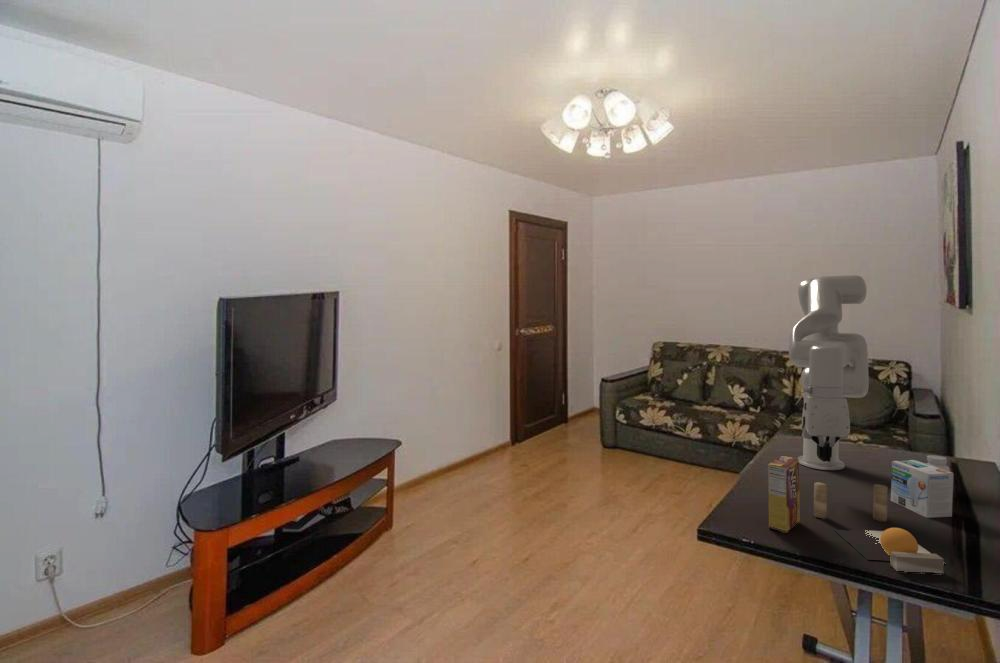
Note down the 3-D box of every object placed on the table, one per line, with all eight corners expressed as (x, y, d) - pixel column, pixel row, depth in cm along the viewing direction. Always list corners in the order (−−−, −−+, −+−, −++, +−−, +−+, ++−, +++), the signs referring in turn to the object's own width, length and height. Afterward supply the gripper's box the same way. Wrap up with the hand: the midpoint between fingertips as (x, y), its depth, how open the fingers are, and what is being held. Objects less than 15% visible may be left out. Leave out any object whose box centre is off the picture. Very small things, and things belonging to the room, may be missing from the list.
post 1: (811, 514, 123) (812, 482, 123) (823, 514, 123) (823, 482, 123) (816, 518, 121) (817, 486, 120) (828, 519, 120) (829, 486, 120)
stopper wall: (890, 566, 99) (890, 551, 99) (935, 569, 98) (936, 553, 97) (896, 571, 97) (896, 556, 97) (943, 574, 96) (943, 559, 96)
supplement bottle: (954, 497, 133) (955, 460, 132) (930, 495, 134) (931, 459, 133) (940, 489, 138) (941, 454, 138) (918, 488, 139) (919, 453, 139)
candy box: (780, 517, 122) (781, 454, 121) (800, 522, 119) (801, 458, 118) (766, 528, 116) (767, 463, 115) (787, 534, 113) (788, 467, 112)
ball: (884, 564, 102) (870, 537, 106) (917, 566, 101) (902, 539, 106) (894, 548, 98) (880, 520, 103) (929, 550, 97) (913, 522, 102)
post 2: (870, 516, 121) (871, 484, 121) (882, 517, 121) (883, 484, 121) (877, 521, 119) (877, 488, 118) (889, 522, 118) (890, 488, 118)
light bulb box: (889, 501, 131) (890, 460, 130) (913, 500, 131) (914, 459, 131) (927, 518, 120) (928, 474, 120) (953, 517, 121) (955, 472, 120)
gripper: (800, 395, 130) (799, 464, 132) (864, 394, 128) (862, 465, 129) (788, 389, 137) (788, 454, 139) (848, 388, 135) (847, 455, 137)
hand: (824, 459), depth 134 cm, fingers closed
